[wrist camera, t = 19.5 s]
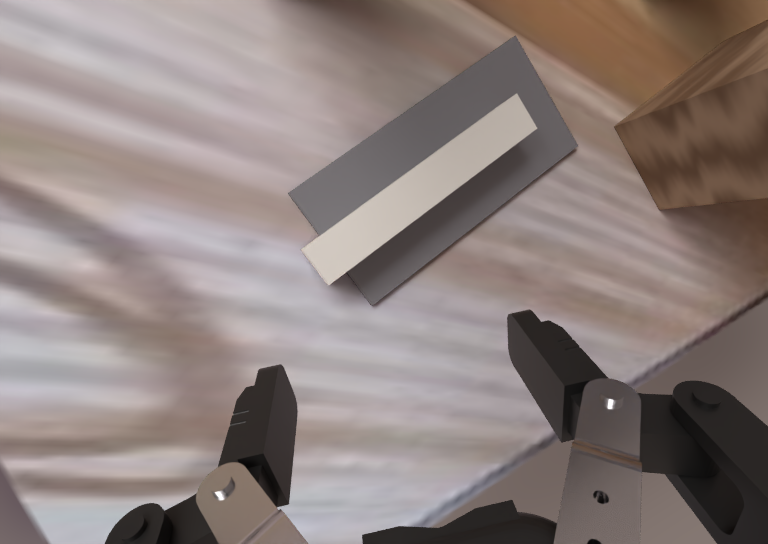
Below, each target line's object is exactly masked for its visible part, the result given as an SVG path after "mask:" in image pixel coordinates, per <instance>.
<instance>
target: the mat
mask: <svg viewBox="0 0 768 544" xmlns="http://www.w3.org/2000/svg"><path fill="white" fill-rule="evenodd" d="M516 93H517V94H518V96H519V98H520V99H521V101H522V103H523V105H524V106H525V108H526V110H527V111H528V113H529V115H530V117H531V118H532V120H533V122H534V123H535V125H536V127H537V129H536V130H534V131H533V132H532V133H530V134H529V135H528V136H526V137H525V138H524V139H522V140H521V141H520V142H518V143H517V144H516V145H515V146H513V147H512V148H511V149H509V150H508V151H507V152H505V153H504V154H503V155H501V156H500V157H499V158H497V159H496V160H495V161H493V162H492V163H491V164H489V165H488V166H487V167H485V168H484V169H483V170H481V171H480V172H479V173H477V174H476V175H475V176H473V177H472V178H471V179H469V180H468V181H467V182H465V183H464V184H463V185H461V186H460V187H459V188H457V189H456V190H455V191H453V192H452V193H451V194H449V195H448V196H447V197H445V198H444V199H443V200H442V201H440V202H439V203H438V204H436V205H435V206H434V207H432V208H431V209H430V210H428V211H427V212H426V213H424V214H423V215H422V216H420V217H419V218H418V219H416V220H415V221H414V222H412V223H411V224H410V225H408V226H407V227H406V228H404V229H403V230H402V231H400V232H399V233H398V234H396V235H395V236H394V237H392V238H391V239H390V240H388V241H387V242H386V243H384V244H383V245H382V246H380V247H379V248H378V249H376V250H375V251H374V252H372V253H371V254H370V255H368V256H367V257H366V258H365V259H363V260H362V261H361V262H359V263H358V264H357V265H355V266H354V267H353V268H351V269H350V270H349V271H347V274H348V275H349V276H350V278H351V279H352V280H353V282H354V283H355V284H356V286H357V287H358V288H359V290H360V291H361V292H362V294H363V295H364V296H365V298H366V299H367V300H368V302H369V303H370V305H372V306H373V305H374V304H375V303H376V302H378V301H379V300H380V299H382V298H383V297H384V296H385V295H387V294H388V293H389V292H391V291H392V290H393V289H394V288H396V287H397V286H398V285H400V284H401V283H402V282H404V281H405V280H406V279H407V278H409V277H410V276H411V275H413V274H414V273H415V272H416V271H418V270H419V269H420V268H422V267H423V266H424V265H425V264H427V263H428V262H429V261H431V260H432V259H433V258H434V257H436V256H437V255H438V254H440V253H441V252H442V251H443V250H445V249H446V248H447V247H449V246H450V245H451V244H452V243H454V242H455V241H456V240H458V239H459V238H460V237H461V236H463V235H464V234H465V233H467V232H468V231H469V230H470V229H472V228H473V227H474V226H476V225H477V224H478V223H479V222H481V221H482V220H483V219H485V218H486V217H487V216H489V215H490V214H491V213H492V212H494V211H495V210H496V209H498V208H499V207H500V206H501V205H503V204H504V203H505V202H507V201H508V200H509V199H510V198H512V197H513V196H514V195H516V194H517V193H518V192H519V191H521V190H522V189H523V188H525V187H526V186H527V185H528V184H530V183H531V182H532V181H534V180H535V179H536V178H537V177H539V176H540V175H541V174H543V173H544V172H545V171H546V170H548V169H549V168H550V167H552V166H553V165H554V164H555V163H557V162H558V161H559V160H561V159H562V158H563V157H564V156H566V155H567V154H568V153H570V152H571V151H572V150H573V149H575V148H576V147H577V146H578V145H577V143H576V141H575V140H574V138H573V136H572V134H571V133H570V131H569V129H568V127H567V126H566V124H565V122H564V120H563V118H562V117H561V115H560V113H559V111H558V110H557V108H556V106H555V104H554V103H553V101H552V99H551V97H550V95H549V94H548V92H547V90H546V88H545V87H544V85H543V83H542V81H541V80H540V78H539V76H538V74H537V73H536V71H535V69H534V67H533V65H532V64H531V62H530V60H529V58H528V57H527V55H526V53H525V51H524V50H523V48H522V46H521V44H520V42H519V41H518V39H517V37H516V36H514V37H513V38H511V39H510V40H508V41H507V42H505V43H504V44H503V45H501V46H500V47H498V48H497V49H495V50H494V51H492V52H491V53H490V54H488V55H487V56H485V57H484V58H482V59H481V60H479V61H478V62H477V63H475V64H474V65H472V66H471V67H469V68H468V69H466V70H465V71H464V72H462V73H461V74H459V75H458V76H456V77H455V78H453V79H452V80H451V81H449V82H448V83H446V84H445V85H443V86H442V87H441V88H439V89H438V90H436V91H435V92H433V93H432V94H430V95H429V96H428V97H426V98H425V99H423V100H422V101H420V102H419V103H417V104H416V105H415V106H413V107H412V108H410V109H409V110H407V111H406V112H404V113H403V114H402V115H400V116H399V117H397V118H396V119H394V120H393V121H391V122H390V123H389V124H387V125H386V126H384V127H383V128H381V129H380V130H378V131H377V132H376V133H374V134H373V135H371V136H370V137H368V138H367V139H365V140H364V141H363V142H361V143H360V144H358V145H357V146H355V147H354V148H352V149H351V150H350V151H348V152H347V153H345V154H344V155H342V156H341V157H339V158H338V159H337V160H335V161H334V162H332V163H331V164H329V165H328V166H326V167H325V168H324V169H322V170H321V171H319V172H318V173H316V174H315V175H314V176H312V177H311V178H309V179H308V180H306V181H305V182H303V183H302V184H301V185H299V186H298V187H296V188H295V189H293V190H292V191H290V192H289V193H288V194H289V195H290V197H291V198H292V199H293V201H294V202H295V203H296V205H297V206H298V208H299V209H300V210H301V212H302V213H303V214H304V216H305V217H306V218H307V220H308V221H309V222H310V224H311V225H312V226H313V228H314V229H315V230H316V232H317V233H318V234H319V236H320V235H321V234H323V233H324V232H326V231H327V230H328V229H330V228H331V227H332V226H334V225H335V224H337V223H338V222H339V221H341V220H342V219H343V218H345V217H346V216H348V215H349V214H350V213H352V212H353V211H354V210H356V209H357V208H359V207H360V206H361V205H363V204H364V203H365V202H367V201H368V200H370V199H371V198H372V197H374V196H375V195H376V194H378V193H379V192H381V191H382V190H383V189H385V188H386V187H387V186H389V185H390V184H392V183H393V182H394V181H396V180H397V179H399V178H400V177H401V176H403V175H404V174H405V173H407V172H408V171H410V170H411V169H412V168H414V167H415V166H416V165H418V164H419V163H421V162H422V161H423V160H425V159H426V158H427V157H429V156H430V155H432V154H433V153H434V152H436V151H437V150H438V149H440V148H441V147H443V146H444V145H445V144H447V143H448V142H449V141H451V140H452V139H454V138H455V137H456V136H458V135H459V134H460V133H462V132H463V131H465V130H466V129H467V128H469V127H470V126H471V125H473V124H474V123H476V122H477V121H478V120H480V119H481V118H482V117H484V116H485V115H487V114H488V113H489V112H491V111H492V110H494V109H495V108H496V107H498V106H499V105H501V104H502V103H503V102H505V101H506V100H508V99H509V98H511V97H512V96H514V95H515V94H516Z"/></svg>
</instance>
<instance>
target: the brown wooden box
mask: <svg viewBox="0 0 768 544" xmlns="http://www.w3.org/2000/svg"><path fill="white" fill-rule="evenodd" d="M615 129H616V131H617V133H618V135H619V136H620V138H621V140H622V142H623V144H624V146H625V147H626V149H627V151H628V153H629V155H630V157H631V159H632V160H633V162H634V164H635V166H636V168H637V170H638V171H639V173H640V175H641V177H642V179H643V181H644V183H645V184H646V186H647V188H648V190H649V192H650V194H651V196H652V197H653V199H654V201H655V203H656V205H657V207H658V208H659V210H662V209H671V208H681V207H690V206H699V205H709V204H718V203H727V202H736V201H746V200H755V199H764V198H768V20H766V21H764V22H762V23H760V24H758V25H756V26H754V27H752V28H750V29H748V30H746V31H744V32H742V33H739V34H737V35H735V36H733V37H731V38H729V39H727V40H725V41H723V42H722V43H721V44H719V45H718V46H717V47H716V48H714V49H713V50H712V51H710V52H709V53H708V54H707V55H705V56H704V57H703V58H702V59H700V60H699V61H698V62H696V63H695V64H694V65H693V66H691V67H690V68H689V69H687V70H686V71H685V72H684V73H682V74H681V75H680V76H678V77H677V78H676V79H675V80H673V81H672V82H671V83H670V84H668V85H667V86H666V87H664V88H663V89H662V90H661V91H659V92H658V93H657V94H655V95H654V96H653V97H652V98H650V99H649V100H648V101H646V102H645V103H644V104H643V105H641V106H640V107H639V108H638V109H636V110H635V111H634V112H632V113H631V114H630V115H629V116H627V117H626V118H625V119H623V120H622V121H621V122H620V123H618V124H617V125H616V126H615Z"/></svg>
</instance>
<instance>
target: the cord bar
mask: <svg viewBox="0 0 768 544" xmlns="http://www.w3.org/2000/svg"><path fill="white" fill-rule="evenodd" d="M536 129H537V127H536V125H535V123H534V122H533V120H532V118H531V117H530V115H529V113H528V111H527V110H526V108H525V106H524V105H523V103H522V101H521V99H520V98H519V96H518V94H517V93H516V94H515V95H514V96H512V97H511V98H509V99H508V100H506V101H505V102H503V103H502V104H501V105H499V106H498V107H496V108H495V109H494V110H492V111H491V112H489V113H488V114H487V115H485V116H484V117H482V118H481V119H480V120H478V121H477V122H476V123H474V124H473V125H471V126H470V127H469V128H467V129H466V130H465V131H463V132H462V133H460V134H459V135H458V136H456V137H455V138H454V139H452V140H451V141H449V142H448V143H447V144H445V145H444V146H443V147H441V148H440V149H438V150H437V151H436V152H434V153H433V154H432V155H430V156H429V157H427V158H426V159H425V160H423V161H422V162H421V163H419V164H418V165H416V166H415V167H414V168H412V169H411V170H410V171H408V172H407V173H405V174H404V175H403V176H401V177H400V178H399V179H397V180H396V181H394V182H393V183H392V184H390V185H389V186H387V187H386V188H385V189H383V190H382V191H381V192H379V193H378V194H376V195H375V196H374V197H372V198H371V199H370V200H368V201H367V202H365V203H364V204H363V205H361V206H360V207H359V208H357V209H356V210H354V211H353V212H352V213H350V214H349V215H348V216H346V217H345V218H343V219H342V220H341V221H339V222H338V223H337V224H335V225H334V226H332V227H331V228H330V229H328V230H327V231H326V232H324V233H323V234H321V235H320V236H319V237H317V238H316V239H315V240H313V241H312V242H310V243H309V244H308V245H306V246H305V247H304V248H302V249H301V251H302V253H303V254H304V255H305V257H306V258H307V259H308V260H309V262H310V263H311V264H312V266H313V267H314V268H315V270H316V271H317V272H318V274H319V275H320V276H321V277H322V279H323V280H324V281H325V283H326V284H328V285H330V284H331V283H333V282H334V281H335V280H337V279H338V278H339V277H341V276H342V275H343V274H345V273H346V272H347V271H349V270H350V269H351V268H353V267H354V266H355V265H357V264H358V263H359V262H361V261H362V260H363V259H365V258H366V257H367V256H368V255H370V254H371V253H372V252H374V251H375V250H376V249H378V248H379V247H380V246H382V245H383V244H384V243H386V242H387V241H388V240H390V239H391V238H392V237H394V236H395V235H396V234H398V233H399V232H400V231H402V230H403V229H404V228H406V227H407V226H408V225H410V224H411V223H412V222H414V221H415V220H416V219H418V218H419V217H420V216H422V215H423V214H424V213H426V212H427V211H428V210H430V209H431V208H432V207H434V206H435V205H436V204H438V203H439V202H440V201H442V200H443V199H444V198H445V197H447V196H448V195H449V194H451V193H452V192H453V191H455V190H456V189H457V188H459V187H460V186H461V185H463V184H464V183H465V182H467V181H468V180H469V179H471V178H472V177H473V176H475V175H476V174H477V173H479V172H480V171H481V170H483V169H484V168H485V167H487V166H488V165H489V164H491V163H492V162H493V161H495V160H496V159H497V158H499V157H500V156H501V155H503V154H504V153H505V152H507V151H508V150H509V149H511V148H512V147H513V146H515V145H516V144H517V143H518V142H520V141H521V140H522V139H524V138H525V137H526V136H528V135H529V134H530V133H532V132H533V131H534V130H536Z"/></svg>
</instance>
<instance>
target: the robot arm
mask: <svg viewBox="0 0 768 544" xmlns="http://www.w3.org/2000/svg"><path fill="white" fill-rule="evenodd" d="M507 324H508V349H509V355H510V358H511V361H512V363H513V365H514V367H515V369H516V370H517V372H518V373H519V375H520V377H521V378H522V380H523V382H524V383H525V385H526V386H527V388H528V390H529V391H530V393H531V394H532V396H533V398H534V399H535V401H536V402H537V404H538V406H539V407H540V409H541V410H542V412H543V414H544V415H545V417H546V419H547V420H548V422H549V423H550V425H551V427H552V428H553V430H554V431H555V433H556V435H557V436H558V438H559V439H560V441H561V442H566V441H570V440H574V442H573V443H572V447H571V453H570V458H569V463H568V469H567V474H566V479H565V485H564V490H563V496H562V501H561V506H560V511H559V517H558V522H557V523H555V522H553V521H551V520H549V519H546V518H544V517H541V516H537V515H534V514H528V513H522V512H517V510H516V508H515V505H514V503H513V501H512V500H509V501H505V502H501V503H497V504H492V505H488V506H484V507H479V508H476V509H474V510H472V511H470V512H468V513H466V514H465V515H463V516H461V517H459V518H457V519H456V520H454V521H452V522H451V523H449V524H447V525H445V526H443V527H440V528H426V527H404V526H398V527H394V528H390V529H386V530H381V531H377V532H373V533H369V534H364V535H362V539H363V544H640V528H641V489H642V472H649V473H661V474H665V475H666V476H667V478H668V479H669V480H670V482H671V483H672V484H673V486H674V487H675V488H676V490H678V492H679V493H680V495H681V496H682V497H683V499H684V500H685V501H686V503H687V504H688V506H689V507H690V508H691V509H692V511H693V512H694V513H695V515H696V516H697V517H698V519H699V520H700V521H701V523H702V524H703V525H704V527H705V528H706V529H707V531H708V532H709V533H710V535H711V536H712V537H713V539H714V540H715V541H716V543H717V544H768V426H767V425H766V424H764V423H763V422H762V421H761V420H760V419H759V418H757V417H756V416H755V415H754V414H753V413H752V412H751V411H750V410H748V409H747V408H746V407H745V406H744V405H743V404H741V402H739V401H738V400H737V399H736V398H735V397H734V396H733V395H731V394H730V393H729V392H727V391H726V390H724V389H722V388H720V387H718V386H716V385H713V384H710V383H706V382H702V381H685V382H682V383H680V384H678V385H677V386H676V387H675V388H674V390H673V395H658V394H657V395H656V394H641V393H637V392H636V391H635V390H634V389H633V388H632V387H630V386H629V385H627V384H625V383H623V382H621V381H618V380H614V379H609V378H608V377H607V376H606V375H605V374H604V373H603V372H602V371H601V370H600V369H599V367H598V366H597V365H596V364H595V363H594V362H593V361H592V360H591V359H590V357H589V356H588V355H587V354H586V353H585V352H584V351H583V350H582V349H581V348H579V345H578V344H577V343H576V342H575V341H574V340H572V338H571V336H570V335H569V334H568V333H567V332H566V331H565V330H564V329H563V328H562V327H560V326H558V325H557V324H555V323H553V322H551V321H549V320H548V321H544V322H541V321H540V320H539V319H538V317H537V316H536V315H535V314H534V313H533V312H532V311H531V310H525V311H521V312H516V313H512V314H509V315H508V317H507ZM296 424H297V402H296V398H295V395H294V392H293V390H292V387H291V385H290V382H289V380H288V377H287V374H286V372H285V369H284V367H283V366H282V365H281V364H280V365H275V366H271V367H266V368H262V369H259V371H258V373H257V378H256V382H255V385H254V386H250V387H246V388H245V390H244V391H243V392H242V394H241V395H240V396H239V398H238V399H237V401H236V405H235V408H234V412H233V416H232V419H231V422H230V427H229V430H228V433H227V437H226V440H225V444H224V447H223V451H222V454H221V458H220V461H219V465H218V468H216V469H214V470H213V471H212V472H211V473H209V474H208V475H207V476H206V477H205V479H204V480H203V481H202V483H201V484H200V486H199V488H198V491H197V493H196V494H195V495H193V496H192V497H190V498H188V499H186V500H184V501H183V502H181V503H179V504H177V505H175V506H173V507H171V508H169V509H167V510H165V511H164V510H163V509H162V507H161V506H160V505H158V504H154V503H149V504H144V505H141V506H139V507H137V508H135V509H133V510H132V511H130V512H129V513H127V514H126V515H125V516H124V517H123V518H122V519H120V521H119V522H118V523H117V524H116V525H115V526H114V528H113V529H112V530H111V532H110V534H109V535H108V537H107V540H106V542H105V544H308V543H307V541H306V540H305V539H304V538H303V536H302V535H301V534H300V532H299V531H298V530H297V529H296V527H295V526H294V525H293V523H292V522H291V521H290V520H289V518H288V517H287V516H286V514H285V513H284V512H283V511H282V510H281V509H280V510H278V509H277V507H280V506H284V505H288V504H289V497H290V487H291V476H292V466H293V455H294V445H295V435H296Z"/></svg>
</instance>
